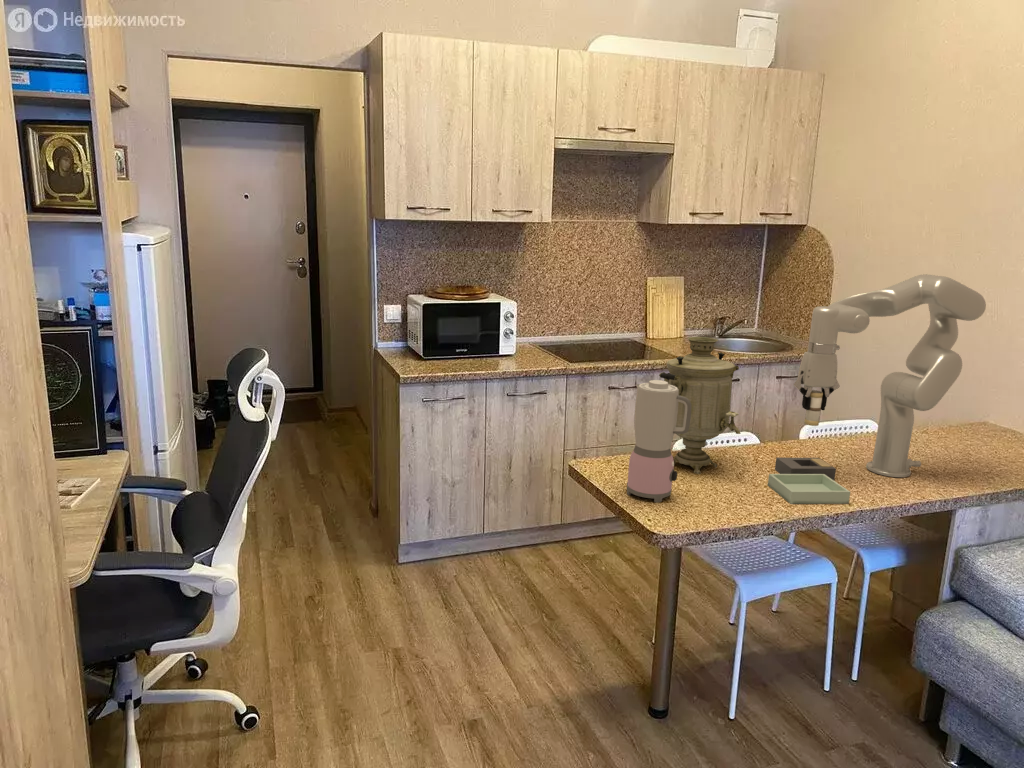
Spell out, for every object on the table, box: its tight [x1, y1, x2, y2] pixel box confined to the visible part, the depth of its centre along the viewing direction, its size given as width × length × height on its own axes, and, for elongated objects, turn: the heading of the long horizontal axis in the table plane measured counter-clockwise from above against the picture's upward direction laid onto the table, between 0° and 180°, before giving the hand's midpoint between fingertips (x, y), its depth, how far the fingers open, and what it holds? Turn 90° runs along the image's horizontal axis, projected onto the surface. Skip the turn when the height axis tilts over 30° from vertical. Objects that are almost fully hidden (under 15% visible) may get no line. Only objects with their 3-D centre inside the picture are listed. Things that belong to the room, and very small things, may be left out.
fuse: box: [803, 389, 823, 427], centre depth 220 cm, size 4×4×10 cm
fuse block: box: [774, 456, 837, 481], centre depth 224 cm, size 14×10×4 cm
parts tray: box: [767, 473, 851, 505], centre depth 209 cm, size 17×14×4 cm
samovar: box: [658, 336, 741, 475], centre depth 222 cm, size 30×26×40 cm
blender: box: [626, 379, 692, 503], centre depth 200 cm, size 16×12×32 cm
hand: (813, 408), depth 220 cm, fingers closed on fuse, 4 cm apart
